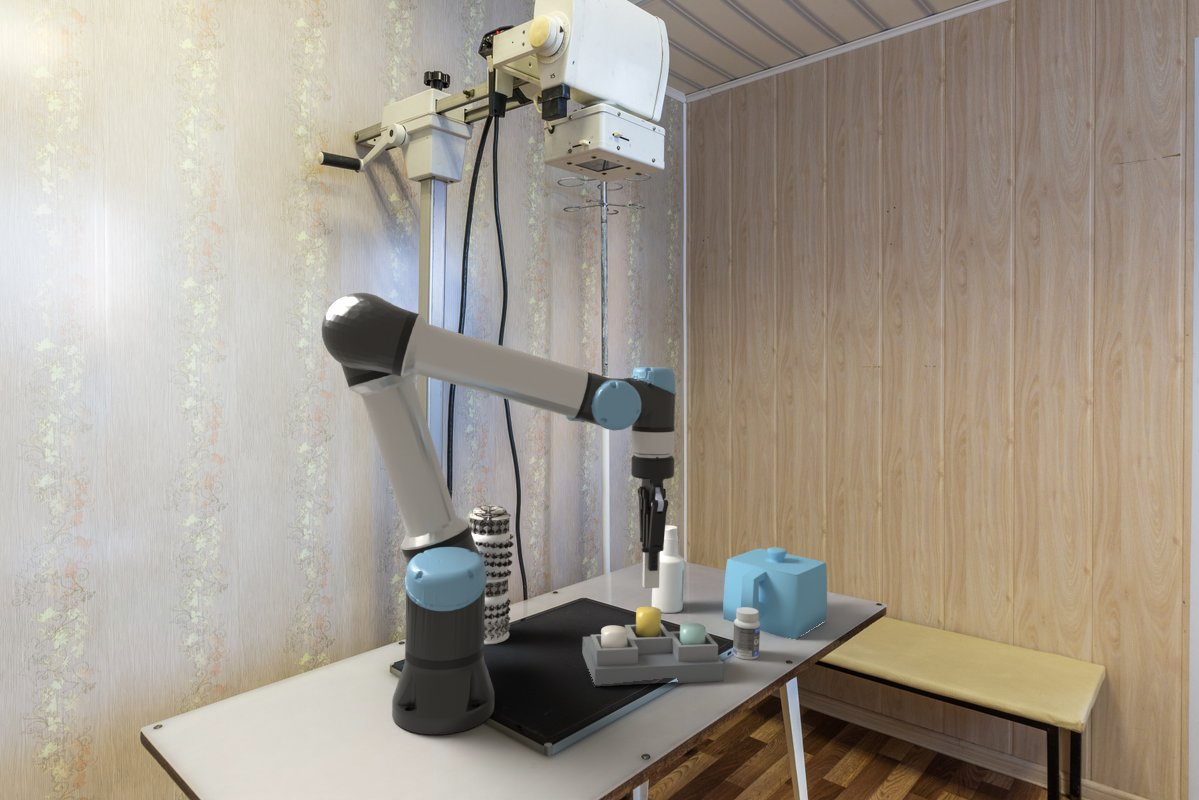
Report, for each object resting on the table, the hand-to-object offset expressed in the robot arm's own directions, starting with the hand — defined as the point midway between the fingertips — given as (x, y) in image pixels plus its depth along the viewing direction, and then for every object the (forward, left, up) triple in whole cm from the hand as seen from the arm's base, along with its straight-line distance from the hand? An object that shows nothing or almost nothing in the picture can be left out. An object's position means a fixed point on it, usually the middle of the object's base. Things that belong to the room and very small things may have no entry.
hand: (650, 586), depth 127 cm
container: (+32, +18, -14) cm, 40 cm away
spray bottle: (+11, +27, -14) cm, 33 cm away
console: (0, -2, -14) cm, 14 cm away
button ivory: (-7, -4, -10) cm, 13 cm away
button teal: (+7, -4, -10) cm, 13 cm away
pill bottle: (+19, +1, -14) cm, 23 cm away
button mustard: (0, 0, -8) cm, 8 cm away
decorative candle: (-28, +15, -14) cm, 35 cm away
